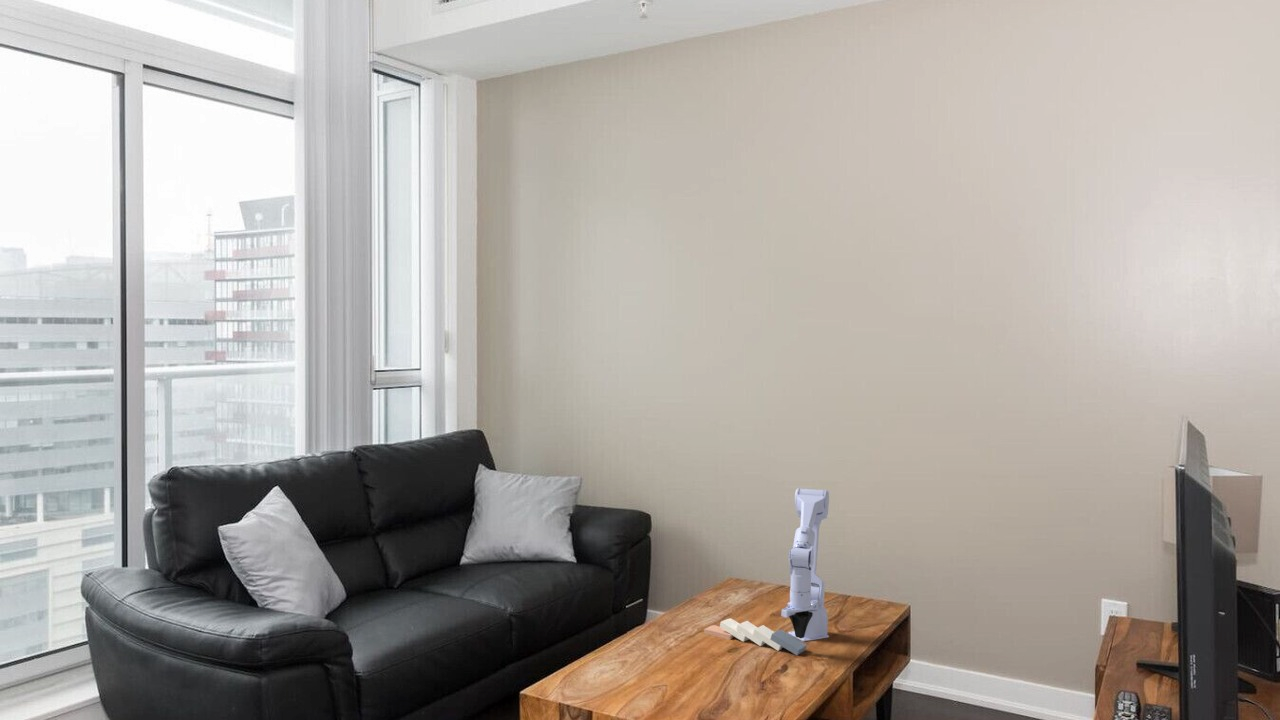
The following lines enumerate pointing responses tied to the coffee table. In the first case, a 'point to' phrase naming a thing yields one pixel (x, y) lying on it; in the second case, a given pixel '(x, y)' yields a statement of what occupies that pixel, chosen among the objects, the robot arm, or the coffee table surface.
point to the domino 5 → (788, 642)
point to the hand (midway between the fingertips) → (799, 637)
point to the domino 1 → (718, 632)
